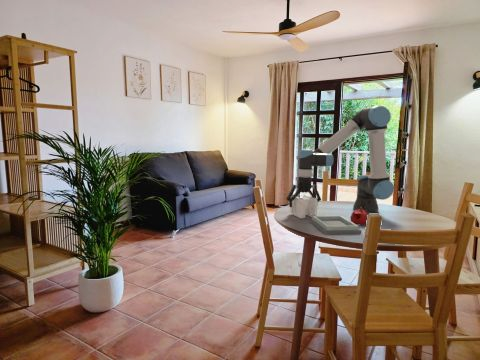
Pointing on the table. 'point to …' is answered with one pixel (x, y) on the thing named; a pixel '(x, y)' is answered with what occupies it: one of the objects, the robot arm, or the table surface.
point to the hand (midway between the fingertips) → (303, 212)
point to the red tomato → (359, 217)
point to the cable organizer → (304, 206)
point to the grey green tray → (335, 225)
